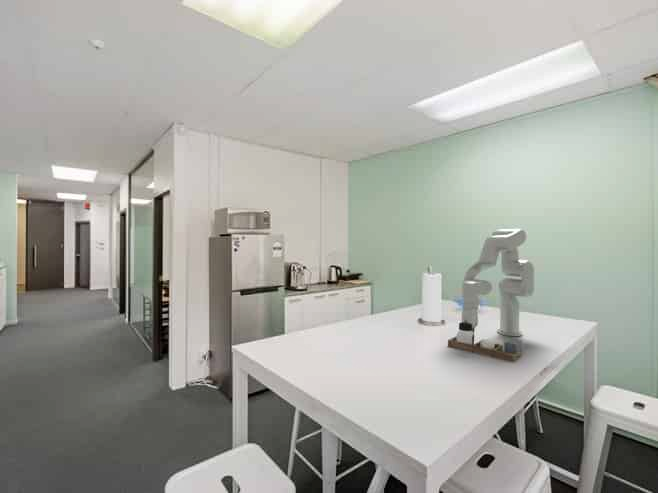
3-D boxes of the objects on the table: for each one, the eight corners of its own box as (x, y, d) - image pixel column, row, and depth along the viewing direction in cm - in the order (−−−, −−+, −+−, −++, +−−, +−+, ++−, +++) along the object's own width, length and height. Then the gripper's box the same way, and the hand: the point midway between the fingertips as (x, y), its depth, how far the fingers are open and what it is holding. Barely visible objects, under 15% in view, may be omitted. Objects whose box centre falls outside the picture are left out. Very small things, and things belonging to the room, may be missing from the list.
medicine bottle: (472, 350, 152) (472, 325, 152) (456, 347, 156) (456, 323, 156) (473, 346, 158) (474, 322, 158) (458, 343, 162) (458, 320, 162)
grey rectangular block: (510, 348, 155) (510, 337, 155) (521, 350, 152) (521, 340, 152) (504, 352, 149) (504, 341, 149) (516, 355, 145) (516, 344, 145)
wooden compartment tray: (457, 341, 166) (457, 335, 166) (521, 355, 145) (521, 349, 145) (447, 346, 158) (448, 340, 158) (514, 361, 137) (514, 355, 137)
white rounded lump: (483, 348, 154) (483, 338, 154) (496, 351, 150) (496, 341, 150) (478, 351, 150) (478, 341, 150) (491, 354, 146) (491, 344, 146)
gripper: (468, 302, 170) (468, 336, 170) (456, 306, 159) (457, 342, 159) (483, 304, 164) (483, 339, 165) (471, 308, 154) (472, 346, 154)
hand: (470, 340), depth 162 cm, fingers closed
